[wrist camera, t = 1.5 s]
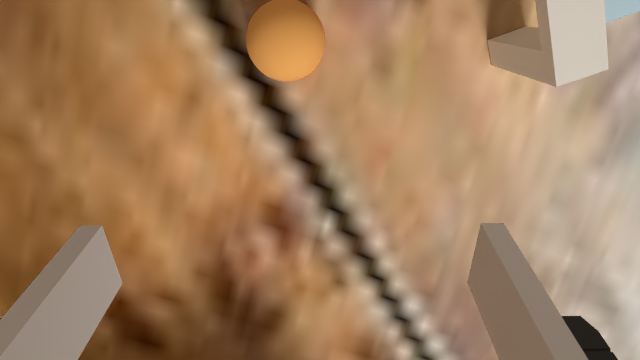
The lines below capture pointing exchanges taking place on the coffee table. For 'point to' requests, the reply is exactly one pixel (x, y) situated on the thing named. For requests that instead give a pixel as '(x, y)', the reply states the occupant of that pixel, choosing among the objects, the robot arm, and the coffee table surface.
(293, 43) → the ball
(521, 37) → the bridge
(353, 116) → the coffee table surface
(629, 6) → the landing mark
